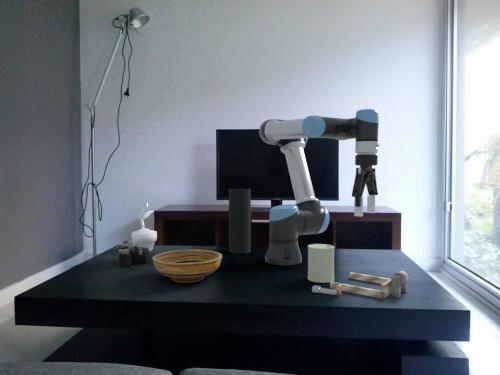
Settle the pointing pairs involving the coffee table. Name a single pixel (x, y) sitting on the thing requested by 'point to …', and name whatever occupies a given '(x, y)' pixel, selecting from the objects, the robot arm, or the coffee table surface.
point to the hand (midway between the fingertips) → (365, 214)
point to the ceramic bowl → (187, 264)
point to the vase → (239, 221)
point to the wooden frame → (387, 285)
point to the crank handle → (328, 290)
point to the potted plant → (144, 231)
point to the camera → (132, 254)
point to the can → (321, 263)
